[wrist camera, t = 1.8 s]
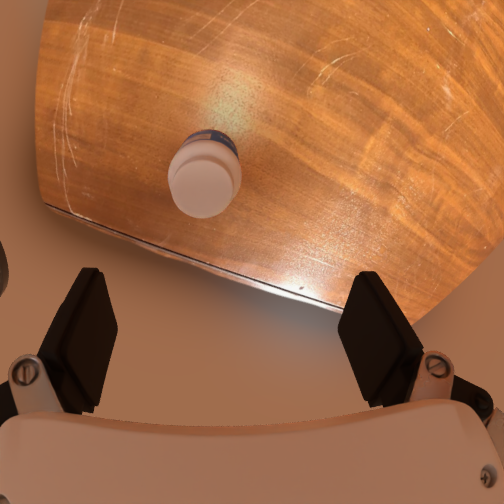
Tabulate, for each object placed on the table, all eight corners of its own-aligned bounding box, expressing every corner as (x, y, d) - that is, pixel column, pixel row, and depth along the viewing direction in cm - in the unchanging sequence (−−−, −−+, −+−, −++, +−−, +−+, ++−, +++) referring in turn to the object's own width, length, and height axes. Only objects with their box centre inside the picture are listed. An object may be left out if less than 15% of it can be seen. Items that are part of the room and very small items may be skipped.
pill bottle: (245, 170, 28) (257, 213, 20) (194, 191, 28) (183, 242, 20) (224, 118, 25) (226, 136, 17) (170, 141, 25) (145, 172, 17)
